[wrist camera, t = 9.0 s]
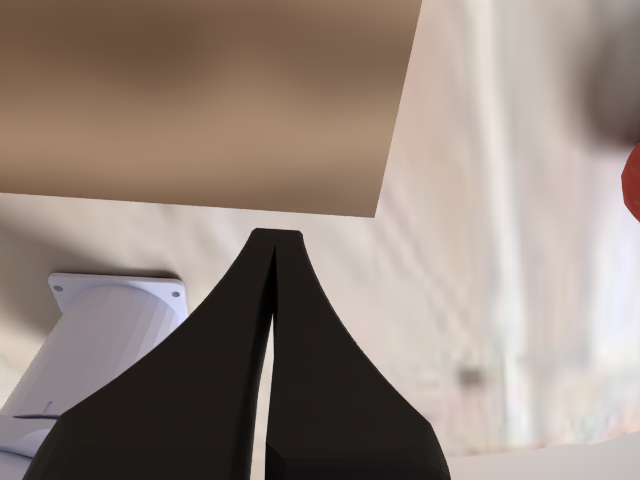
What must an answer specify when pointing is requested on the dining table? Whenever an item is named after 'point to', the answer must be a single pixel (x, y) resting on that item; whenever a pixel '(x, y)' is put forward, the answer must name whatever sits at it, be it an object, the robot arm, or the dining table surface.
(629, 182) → the pomegranate
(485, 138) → the dining table surface
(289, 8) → the brown wooden block
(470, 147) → the dining table surface
